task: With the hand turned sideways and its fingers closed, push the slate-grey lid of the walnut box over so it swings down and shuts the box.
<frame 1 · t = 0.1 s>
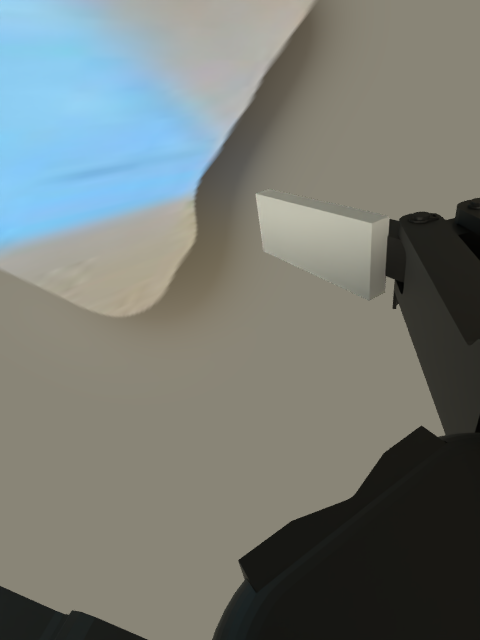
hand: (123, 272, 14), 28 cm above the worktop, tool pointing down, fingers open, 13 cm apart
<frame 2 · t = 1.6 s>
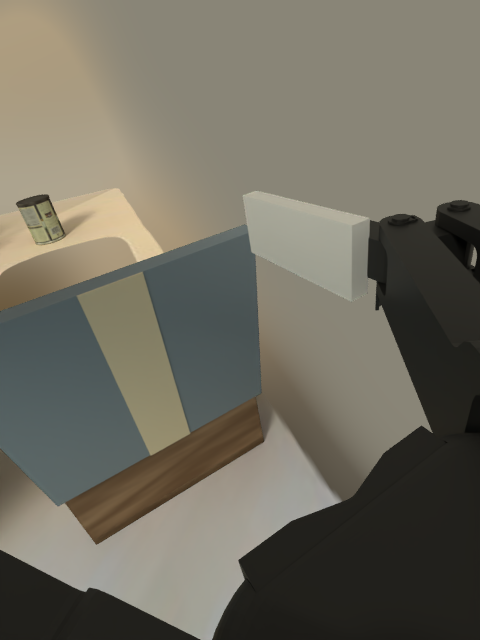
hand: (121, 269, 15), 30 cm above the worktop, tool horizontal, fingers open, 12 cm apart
coffee can: (51, 239, 128), on the worktop
walnut box: (159, 435, 46), on the worktop
lid: (144, 376, 28), point 18 cm above the worktop, hinge at 100.0°, touching walnut box
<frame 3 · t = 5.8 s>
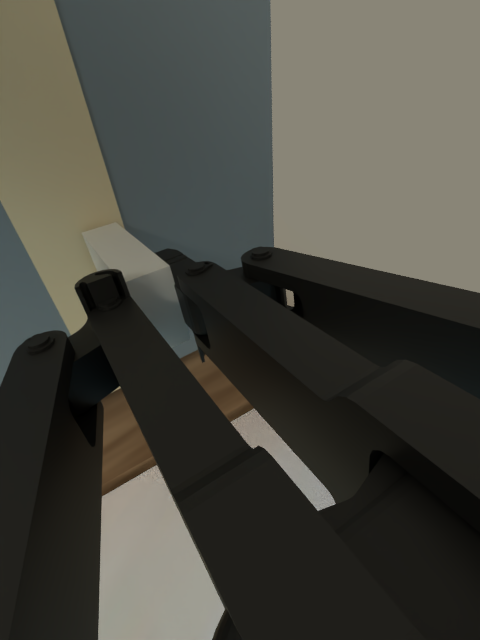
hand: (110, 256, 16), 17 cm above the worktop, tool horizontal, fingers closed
walnut box: (133, 391, 34), on the worktop
lid: (76, 238, 16), point 18 cm above the worktop, hinge at 99.7°, touching gripper, walnut box
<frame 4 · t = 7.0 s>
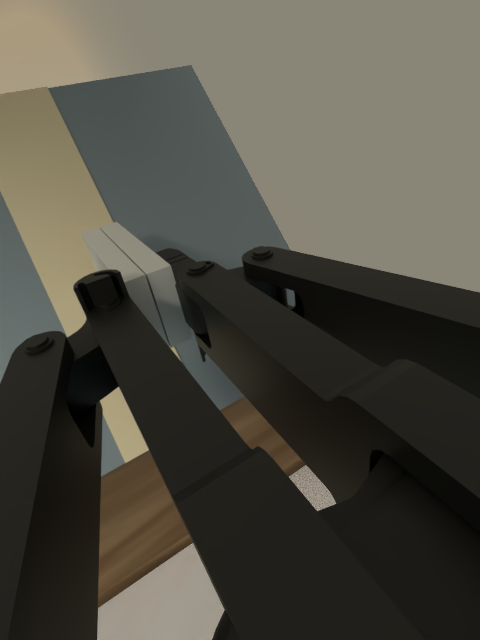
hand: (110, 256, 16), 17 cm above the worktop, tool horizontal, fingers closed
walnut box: (155, 438, 29), on the worktop
lid: (84, 263, 18), point 16 cm above the worktop, hinge at 48.9°, touching gripper, walnut box
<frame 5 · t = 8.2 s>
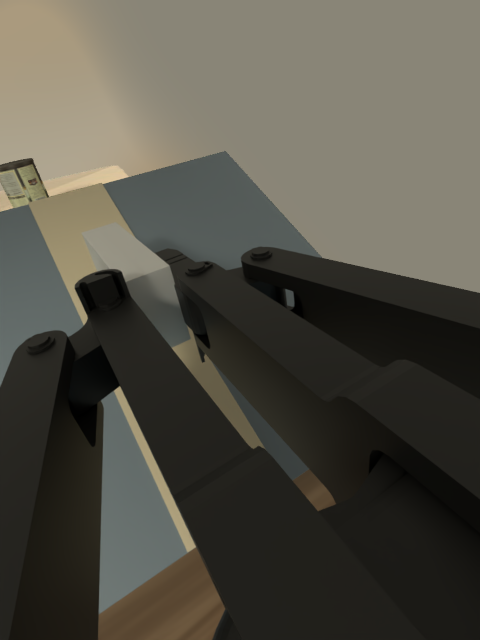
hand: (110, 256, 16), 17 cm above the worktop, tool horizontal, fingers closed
coffee can: (36, 214, 107), on the worktop
walnut box: (193, 482, 25), on the worktop
lid: (134, 324, 17), point 14 cm above the worktop, hinge at 28.6°, touching walnut box
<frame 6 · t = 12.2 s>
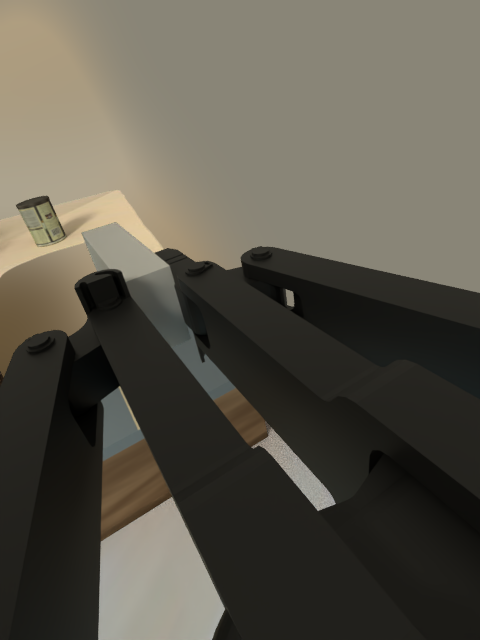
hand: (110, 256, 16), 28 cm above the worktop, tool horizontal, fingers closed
coffee can: (51, 241, 128), on the worktop
walnut box: (159, 431, 45), on the worktop
lid: (133, 371, 40), point 10 cm above the worktop, hinge at 0.0°, touching walnut box
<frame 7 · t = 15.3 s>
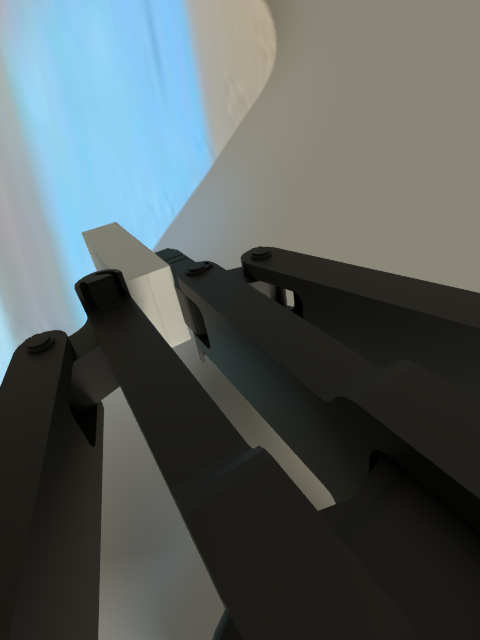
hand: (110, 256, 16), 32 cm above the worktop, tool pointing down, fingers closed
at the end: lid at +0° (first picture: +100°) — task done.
